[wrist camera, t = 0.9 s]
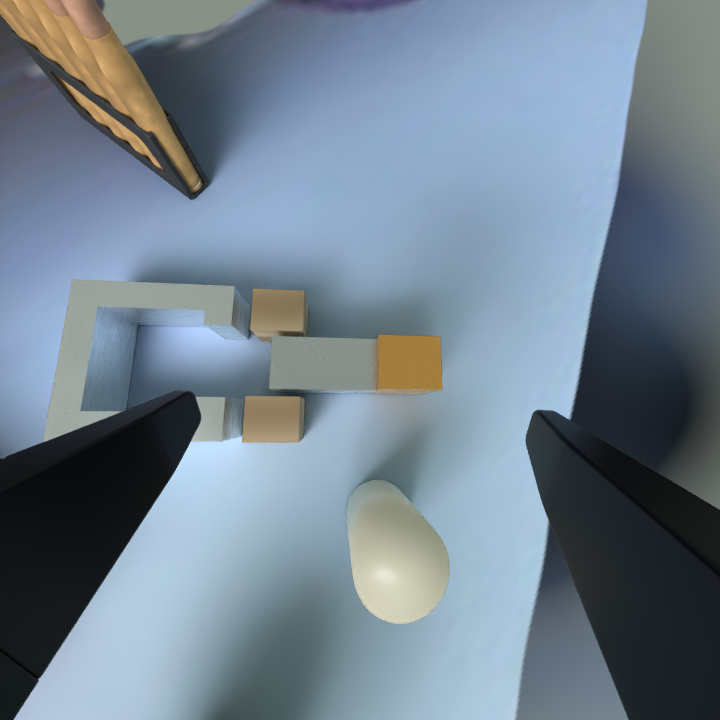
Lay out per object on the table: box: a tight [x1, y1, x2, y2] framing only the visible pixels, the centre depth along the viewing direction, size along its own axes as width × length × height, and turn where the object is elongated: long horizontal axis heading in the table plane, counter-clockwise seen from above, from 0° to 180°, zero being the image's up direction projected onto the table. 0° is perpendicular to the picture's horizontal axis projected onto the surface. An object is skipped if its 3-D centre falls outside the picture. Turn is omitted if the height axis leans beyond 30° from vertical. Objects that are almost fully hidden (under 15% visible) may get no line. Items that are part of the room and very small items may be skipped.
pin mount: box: [242, 289, 308, 442], centre depth 19 cm, size 9×3×3 cm, turn 179°
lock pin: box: [269, 335, 442, 394], centre depth 18 cm, size 3×10×4 cm, turn 89°
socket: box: [43, 279, 251, 441], centre depth 18 cm, size 9×9×4 cm
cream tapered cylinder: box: [346, 479, 449, 624], centre depth 16 cm, size 4×4×7 cm
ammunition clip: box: [0, 0, 209, 200], centre depth 16 cm, size 11×2×12 cm, turn 53°
